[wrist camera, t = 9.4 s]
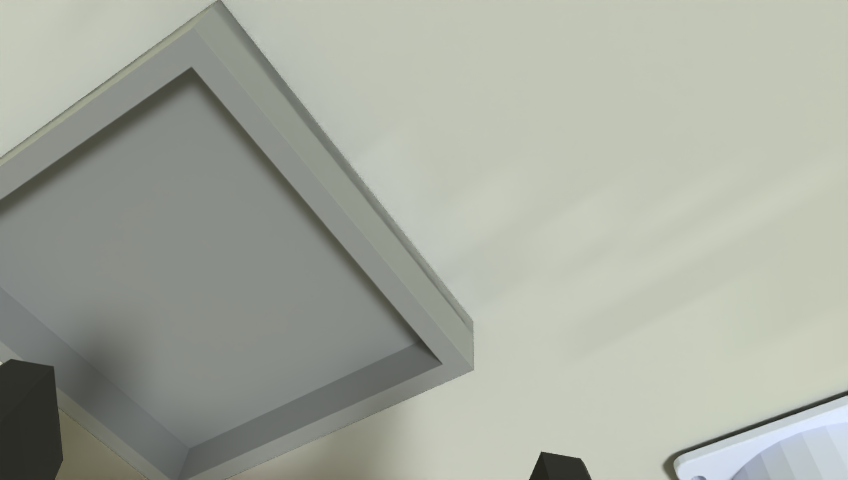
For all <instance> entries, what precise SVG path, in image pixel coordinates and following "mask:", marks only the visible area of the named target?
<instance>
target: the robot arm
mask: <svg viewBox="0 0 848 480" xmlns="http://www.w3.org/2000/svg"><path fill="white" fill-rule="evenodd" d="M62 461H63V455H62V445H61V435H60V424H59V414H58V404H57V393H56V383H55V372H54V366H49V365H43V364H37V363H32V362H26V361H20V360H15V359H10V360H8V361H6V362H5V363H3V364H2V365H0V480H55V477H56V475H57V473H58V470H59V468H60V466H61V463H62ZM673 465H674V469H675V472H676V475H677V477H678V479H679V480H848V395H847V396H845V397H842V398H839V399H836V400H833V401H831V402H828V403H825V404H822V405H819V406H817V407H814V408H811V409H808V410H805V411H803V412H800V413H797V414H794V415H791V416H789V417H786V418H783V419H780V420H777V421H775V422H772V423H769V424H766V425H763V426H761V427H758V428H755V429H752V430H749V431H747V432H744V433H741V434H738V435H735V436H733V437H730V438H727V439H724V440H721V441H719V442H716V443H713V444H710V445H708V446H705V447H702V448H699V449H696V450H694V451H691V452H688V453H685V454H683V455H681V456H679V457H678V458H677V459H676V460H675V461H674V464H673ZM529 480H592V479H591V477H590V475H589V473H588V471H587V468H586V466H585V464H584V463H583V461H582V460H581V459H580V458H574V457H569V456H563V455H557V454H552V453H546V452H541V454H540V456H539V458H538V461H537V463H536V465H535V467H534V470H533V472H532V474H531V477H530V479H529Z"/></svg>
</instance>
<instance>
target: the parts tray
mask: <svg viewBox="0 0 848 480" xmlns="http://www.w3.org/2000/svg"><path fill="white" fill-rule="evenodd" d="M10 359H15V360H20V361H26V362H32V363H37V364H43V365H49V366H54V372H55V383H56V393H57V404H58V408H60V409H61V410H62V411H63V412H65V413H66V414H67V415H68V416H70V417H71V418H72V419H73V420H75V421H76V422H77V423H78V424H80V425H81V426H82V427H83V428H85V429H86V430H87V431H88V432H90V433H91V434H92V435H93V436H95V437H96V438H97V439H98V440H100V441H101V442H102V443H103V444H105V445H106V446H107V447H108V448H110V449H111V450H112V451H113V452H115V453H116V454H117V455H118V456H120V457H121V458H122V459H123V460H125V461H126V462H127V463H128V464H130V465H131V466H132V467H133V468H135V469H136V470H137V471H138V472H140V473H141V474H142V475H143V476H145V477H146V478H147V479H148V480H225V479H227V478H229V477H232V476H234V475H236V474H238V473H241V472H243V471H245V470H247V469H250V468H252V467H254V466H257V465H259V464H261V463H263V462H266V461H268V460H270V459H272V458H275V457H277V456H279V455H282V454H284V453H286V452H288V451H291V450H293V449H295V448H298V447H300V446H302V445H304V444H307V443H309V442H311V441H313V440H316V439H318V438H320V437H323V436H325V435H327V434H329V433H332V432H334V431H336V430H338V429H341V428H343V427H345V426H348V425H350V424H352V423H354V422H357V421H359V420H361V419H364V418H366V417H368V416H370V415H373V414H375V413H377V412H379V411H382V410H384V409H386V408H389V407H391V406H393V405H395V404H398V403H400V402H402V401H404V400H407V399H409V398H411V397H414V396H416V395H418V394H420V393H423V392H425V391H427V390H430V389H432V388H434V387H436V386H439V385H441V384H443V383H445V382H448V381H450V380H452V379H455V378H457V377H459V376H461V375H464V374H466V373H468V372H470V371H473V370H474V342H473V321H472V320H471V318H470V317H469V316H468V314H467V313H466V312H465V311H464V309H463V308H462V307H461V306H460V304H459V303H458V302H457V300H456V299H455V298H454V297H453V295H452V294H451V293H450V292H449V290H448V289H447V288H446V286H445V285H444V284H443V283H442V281H441V280H440V279H439V278H438V276H437V275H436V274H435V272H434V271H433V270H432V269H431V267H430V266H429V265H428V264H427V262H426V261H425V260H424V258H423V257H422V256H421V255H420V253H419V252H418V251H417V249H416V248H415V247H414V246H413V244H412V243H411V242H410V241H409V239H408V238H407V237H406V235H405V234H404V233H403V232H402V230H401V229H400V228H399V227H398V225H397V224H396V223H395V221H394V220H393V219H392V218H391V216H390V215H389V214H388V213H387V211H386V210H385V209H384V207H383V206H382V205H381V204H380V202H379V201H378V200H377V199H376V197H375V196H374V195H373V193H372V192H371V191H370V190H369V188H368V187H367V186H366V185H365V183H364V182H363V181H362V179H361V178H360V177H359V176H358V174H357V173H356V172H355V171H354V169H353V168H352V167H351V165H350V164H349V163H348V162H347V160H346V159H345V158H344V157H343V155H342V154H341V153H340V151H339V150H338V149H337V148H336V146H335V145H334V144H333V143H332V141H331V140H330V139H329V137H328V136H327V135H326V134H325V132H324V131H323V130H322V129H321V127H320V126H319V125H318V123H317V122H316V121H315V120H314V118H313V117H312V116H311V115H310V113H309V112H308V111H307V109H306V108H305V107H304V106H303V104H302V103H301V102H300V101H299V99H298V98H297V97H296V95H295V94H294V93H293V92H292V90H291V89H290V88H289V87H288V85H287V84H286V83H285V81H284V80H283V79H282V78H281V76H280V75H279V74H278V72H277V71H276V70H275V69H274V67H273V66H272V65H271V64H270V62H269V61H268V60H267V58H266V57H265V56H264V55H263V53H262V52H261V51H260V50H259V48H258V47H257V46H256V44H255V43H254V42H253V41H252V39H251V38H250V37H249V36H248V34H247V33H246V32H245V30H244V29H243V28H242V27H241V25H240V24H239V23H238V22H237V20H236V19H235V18H234V16H233V15H232V14H231V13H230V11H229V10H228V9H227V8H226V6H225V5H224V4H223V2H222V1H221V0H217V1H215V2H214V3H213V4H211V5H210V6H208V7H207V8H206V9H204V10H203V11H202V12H200V13H199V14H197V15H196V16H195V17H193V18H192V19H191V20H189V21H188V22H186V23H185V24H184V25H182V26H181V27H180V28H178V29H177V30H175V31H174V32H173V33H171V34H170V35H169V36H167V37H166V38H164V39H163V40H162V41H160V42H159V43H158V44H156V45H155V46H153V47H152V48H151V49H149V50H148V51H147V52H145V53H144V54H142V55H141V56H140V57H138V58H137V59H135V60H134V61H133V62H131V63H130V64H129V65H127V66H126V67H124V68H123V69H122V70H120V71H119V72H118V73H116V74H115V75H113V76H112V77H111V78H109V79H108V80H107V81H105V82H104V83H102V84H101V85H100V86H98V87H97V88H96V89H94V90H93V91H91V92H90V93H89V94H87V95H86V96H85V97H83V98H82V99H80V100H79V101H78V102H76V103H75V104H74V105H72V106H71V107H69V108H68V109H67V110H65V111H64V112H63V113H61V114H60V115H58V116H57V117H56V118H54V119H53V120H51V121H50V122H49V123H47V124H46V125H45V126H43V127H42V128H40V129H39V130H38V131H36V132H35V133H34V134H32V135H31V136H29V137H28V138H27V139H25V140H24V141H23V142H21V143H20V144H18V145H17V146H16V147H14V148H13V149H12V150H10V151H9V152H7V153H6V154H5V155H3V156H2V157H1V158H0V361H1V362H2V363H5V362H6V361H8V360H10Z"/></svg>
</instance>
